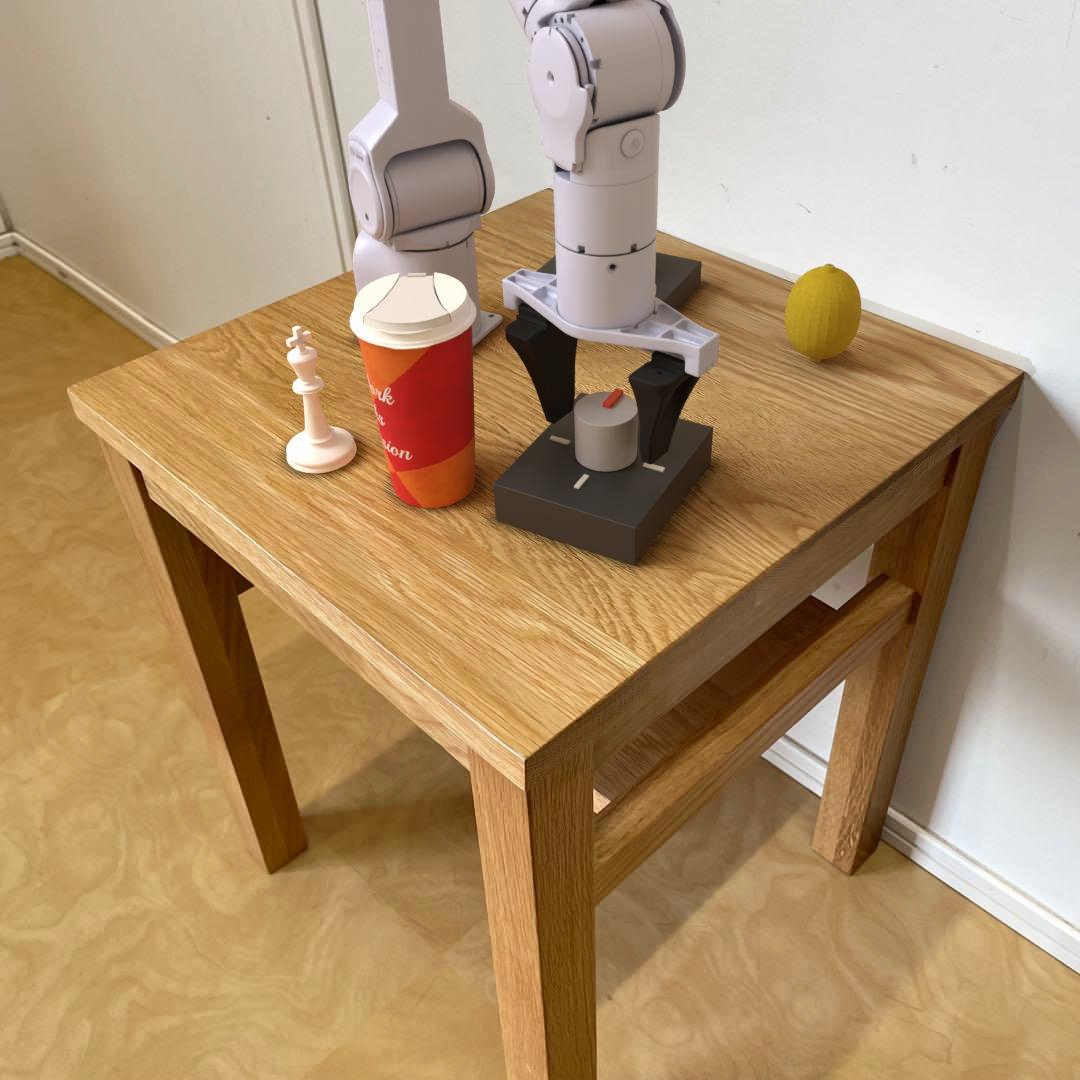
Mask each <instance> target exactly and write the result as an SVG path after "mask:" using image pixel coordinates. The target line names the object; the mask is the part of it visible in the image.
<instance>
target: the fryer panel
mask: <svg viewBox="0 0 1080 1080" xmlns="http://www.w3.org/2000/svg"><path fill="white" fill-rule="evenodd" d="M589 394H590V393H585V392H580V393H579V394H578V395H577V396H575V399H574V406H573V411H571V412H570V413H568V414H567V415H566V416H564V417H563V418H561V419H560V420H559V421H557V422H556V423H555V424H552V423H550V424H549V425H548V426H547V427H546V428H545V429H544V430H543V431H542V432H541V433H540V434H539V435H538V436H537V437H536V438H535V439H534V441H532V442H531V444H530V445H529V446H528V447H527V448H526V449H525V450H524V451H523V452H522V453H521V454H520V455H519V456H518V457H517V458H516V459H515V460H514V461H513V462H512V463H511V465H509V466H508V467H507V468H506V469H505V470H504V472H502V474H501V475H500V476H499V477H498V478H497V479H496V480H495V481H494V482H493V483H492V490H493V491H492V492H493V501H494V513H495V521H497V522H500V523H503V524H506V525H509V526H511V527H515V528H518V529H521V530H524V531H527V532H531V533H534V534H536V535H539V536H543V537H546V538H548V539H552V540H556V541H558V542H561V543H564V544H567V545H570V546H573V547H576V548H579V549H583V550H585V551H589V552H591V553H594V554H598V555H601V556H604V557H607V558H610V559H613V560H616V561H619V562H621V563H625V564H629V565H631V566H636V565H637V563H638V562H639V561H640V560H641V558H642V557H643V555H644V554H645V553H646V551H647V550H648V549H649V547H650V546H651V544H652V543H653V542H654V541H655V540H656V538H657V537H658V535H659V534H660V533H661V531H662V530H663V529H664V527H665V526H666V524H667V523H668V522H669V521H670V520H671V518H672V516H673V515H674V513H675V512H676V511H677V510H678V508H679V507H680V505H682V503H683V501H684V500H685V499H686V498H687V496H688V495H689V493H690V492H692V490H693V488H694V487H695V485H696V484H697V483H698V481H699V480H700V479H701V477H702V476H703V474H704V473H705V472H706V471H707V469H708V468H709V466H711V463H712V453H713V437H714V427H713V426H711V425H707V424H703V423H700V422H697V421H692V420H688V419H684V418H680V417H679V419H678V421H677V424H676V427H675V430H674V433H673V436H672V440H671V443H670V447H669V451H668V452H666V453H665V454H664V455H663V456H662V457H660V458H659V459H658V460H657V461H656V462H654V463H653V464H647V463H645V462H643V461H642V460H641V455H640V444H639V439H640V423H639V414H638V430H637V457H636V459H635V460H634V462H633V463H632V464H630V465H629V466H627V467H626V468H623V469H620V470H617V471H610V472H602V471H595V470H591V469H588V468H586V467H584V466H583V465H581V464H580V463H579V462H578V460H577V459H576V455H575V421H574V408H575V405H576V403H577V402H578V401H579V400H580V399H581V398H583V397H584V396H586V395H589Z"/></svg>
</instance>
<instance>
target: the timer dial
mask: <svg viewBox="0 0 1080 1080" xmlns="http://www.w3.org/2000/svg"><path fill="white" fill-rule="evenodd" d="M624 393H625V392H624V389H619V388H614V389H613V391H598V392H592V393H588V394H589V395H586V396H584V397H583V398H581V399H580V400H579V401H578V402H577V403H576V405H575V408H574V421H575V455H576V459H577V460H578V462H579V463H580V464H581V465H583V466H584V467H586V468H588V469H591V470H595V471H602V472H610V471H617V470H620V469H623V468H626V467H627V466H629V465H630V464H632V463H633V462H634V460H635V459H636V457H637V430H638V408H637V404H636V400H634V399H633V398H632V397H630V396H628V395H626V394H624Z"/></svg>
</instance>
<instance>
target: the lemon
mask: <svg viewBox="0 0 1080 1080" xmlns="http://www.w3.org/2000/svg"><path fill="white" fill-rule="evenodd" d="M861 298H862V297H861V293H860V290H859V287H858V285H857V283H856V281H855V280H854V278H853V277H852V276H851V275H850V274H849V273H848V272H846V271H844V270H843V269H841V268H839V267H836V266H835V265H834V264H832V263H825V264H824V265H822V266H817V267H814V268H811V269H809V270H807V271H806V272H805V273H804V274H802V275H800V277H798V279H797V280H796V281H795V283H794V285H793V287H792V288H791V290H790V292H789V295H788V297H787V301H786V305H785V307H784V330H785V334H786V337H787V339H788V341H789V343H790V344H791V346H792V347H793V348H794V349H795V351H797V352H798V353H799V354H801V355H803V356H804V357H806V358H809V359H810V360H811V361H812V362H815V363H819V362H821V361H823V360H826V359H830V358H833V357H836V356H838V355H839V354H841V353H842V352H844V351H845V350H846V349H847V348H848V347H849V346H850V345H851V343H852V342H853V340H854V339H855V337H856V335H857V333H858V331H859V327H860V324H861V316H862V299H861Z"/></svg>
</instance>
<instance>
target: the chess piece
mask: <svg viewBox="0 0 1080 1080" xmlns="http://www.w3.org/2000/svg"><path fill="white" fill-rule="evenodd" d="M291 329H292V334H293V336H291V337H289V338H286V339H285V343H286V347H288V348H290V349H291V350H290V351H288V353H287V355H286V359H287V361H288V363H289V365H290V366H291V367H292V369H293V371H294V373H295V376H297V379H295V380H294V381H293V383H292V391H293V392H294V393H295V394H297V395H300V396H302V399H303V413H304V430H302V431H301V432H299V433H297V434H296V435H294V436H293V437H292V438H291V439H290V440H289V441H288V443H287V444H286V450H285V451H286V452H285V453H286V461H287V463H288V465H289V466H290V467H291V468H293V469H294V470H295V471H297V472H301V473H304V474H305V473H306V474H324V473H325V474H326V473H330V472H333V471H336V470H339V469H341V468H342V467H344V466H346V465H348V464H349V463H350V462H351V461H353V459H354V458H355V456H356V454H357V450H358V448H357V444H356V442H355V439H354V436H353V435H352V433H350V432H349V431H348V430H346V429H344V428H341V427H338V426H332V425H329V423H328V421H327V419H326V415H325V412H324V410H323V406H322V403H321V400H320V397H319V394H318V393H319V392H320V391H322V390H323V389H324V387H325V382H324V381H323V380H324V379H322V377H320V376H318V375H316V367H317V362H318V354H319V353H318V351H317V350H316V349H315V348H314V347H311V346H307V345H306V344H305V342H307V341H310V340H312V339H313V335H312V332H311V331H309V330H308V329H307V330H305V331H303V329H302V327H301V326H299V325H295V326H293V327H291Z"/></svg>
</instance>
